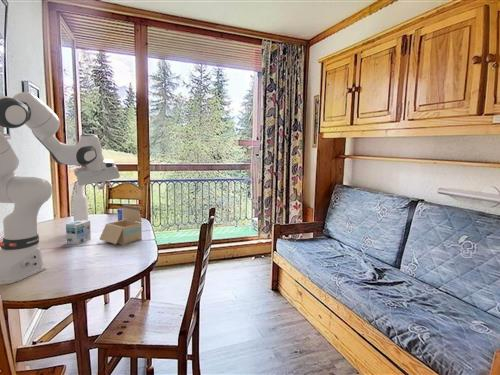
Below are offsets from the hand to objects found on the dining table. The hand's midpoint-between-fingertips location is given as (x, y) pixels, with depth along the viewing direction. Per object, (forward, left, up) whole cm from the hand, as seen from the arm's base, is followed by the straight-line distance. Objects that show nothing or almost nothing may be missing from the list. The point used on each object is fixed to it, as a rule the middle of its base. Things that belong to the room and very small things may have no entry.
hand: (101, 188), depth 164 cm
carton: (+3, -8, -29) cm, 30 cm away
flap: (+10, -11, -15) cm, 22 cm away
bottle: (+17, +23, -29) cm, 41 cm away
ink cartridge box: (+32, +2, -29) cm, 43 cm away
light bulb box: (-1, +13, -29) cm, 32 cm away
